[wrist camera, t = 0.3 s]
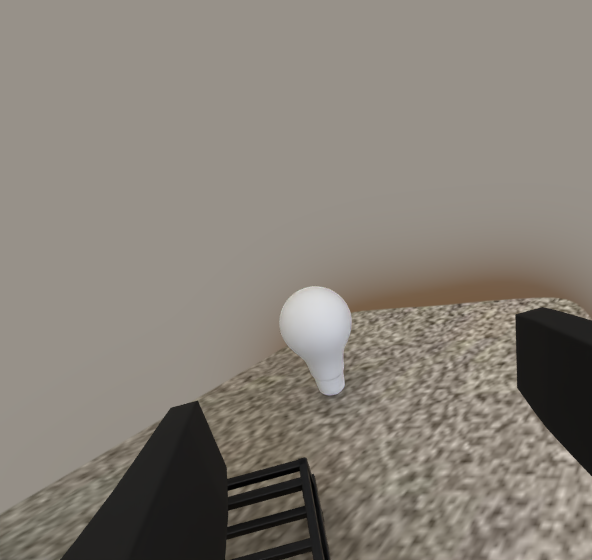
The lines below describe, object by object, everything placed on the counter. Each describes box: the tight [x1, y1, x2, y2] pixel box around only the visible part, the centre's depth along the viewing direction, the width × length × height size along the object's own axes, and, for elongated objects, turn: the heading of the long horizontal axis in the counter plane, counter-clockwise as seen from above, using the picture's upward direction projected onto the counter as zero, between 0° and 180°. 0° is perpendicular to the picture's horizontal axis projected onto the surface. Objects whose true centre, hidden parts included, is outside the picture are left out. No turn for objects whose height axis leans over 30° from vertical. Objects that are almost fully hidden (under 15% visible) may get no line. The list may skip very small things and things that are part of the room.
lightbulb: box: [279, 286, 352, 395], centre depth 36 cm, size 6×6×11 cm
